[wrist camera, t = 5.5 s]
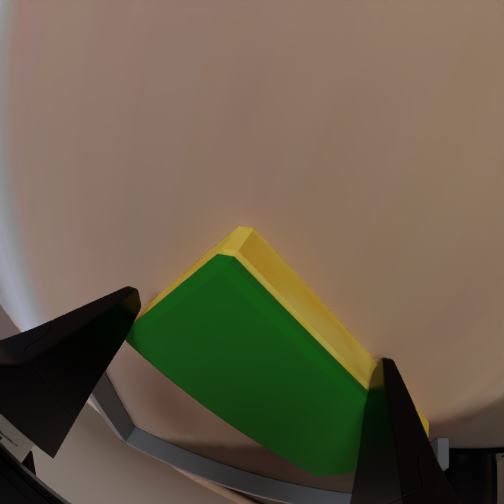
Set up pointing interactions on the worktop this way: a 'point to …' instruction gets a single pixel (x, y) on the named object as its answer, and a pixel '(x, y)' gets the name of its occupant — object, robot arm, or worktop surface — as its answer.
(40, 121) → the worktop surface
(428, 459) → the robot arm
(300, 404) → the dish sponge
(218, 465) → the box
